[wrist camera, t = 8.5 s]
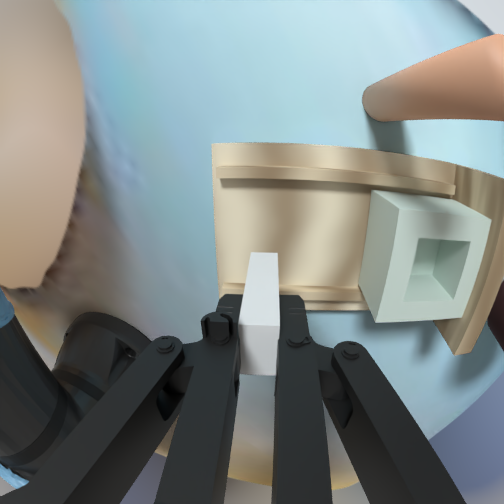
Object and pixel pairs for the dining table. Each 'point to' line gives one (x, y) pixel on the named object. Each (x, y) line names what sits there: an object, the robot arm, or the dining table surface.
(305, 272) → the board
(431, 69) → the dowel
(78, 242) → the dining table surface
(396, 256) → the block
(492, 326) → the coffee cup
